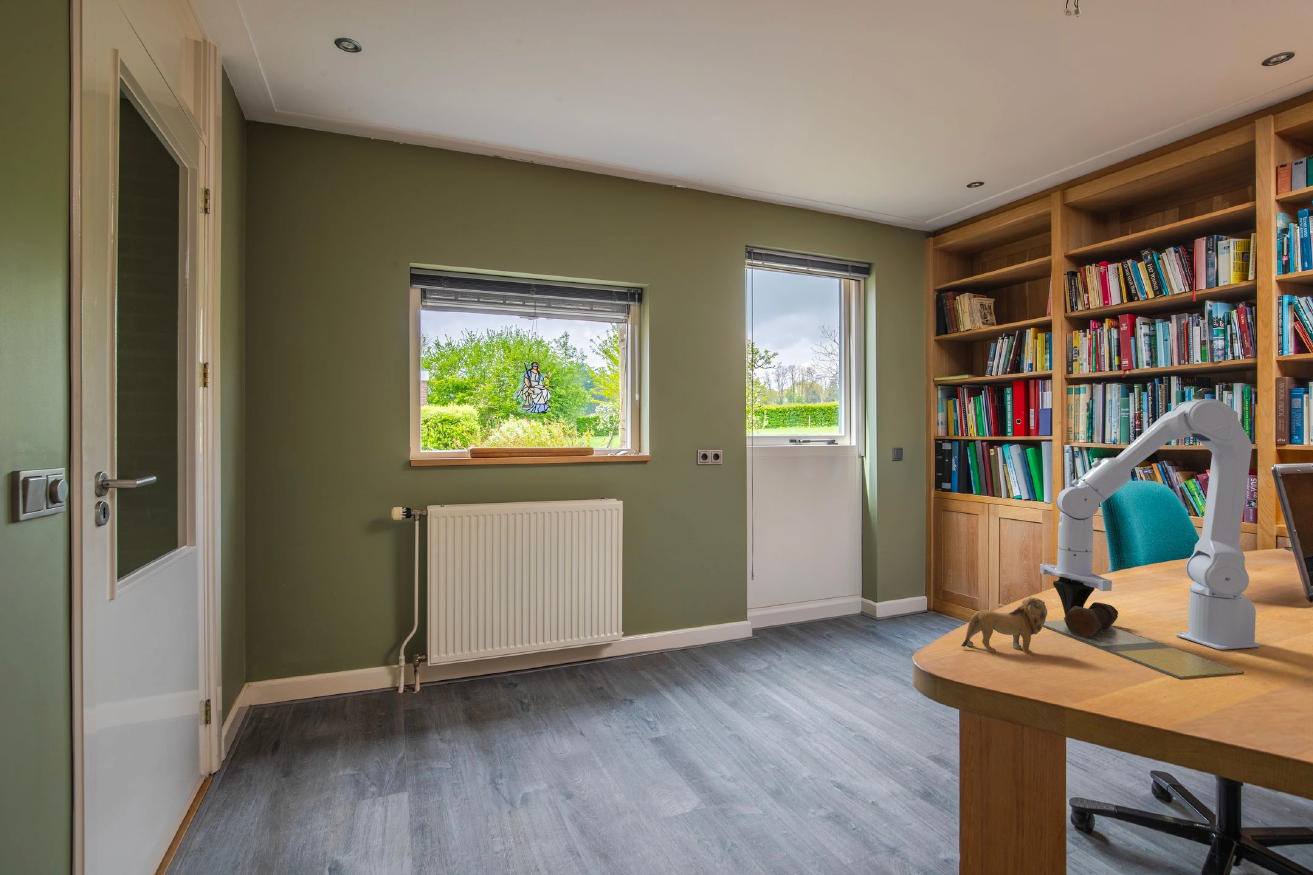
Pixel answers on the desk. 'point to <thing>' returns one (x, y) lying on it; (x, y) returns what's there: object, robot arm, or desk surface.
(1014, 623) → the lion figurine
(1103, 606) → the bolt
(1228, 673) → the flat rectangular plate
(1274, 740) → the desk surface
